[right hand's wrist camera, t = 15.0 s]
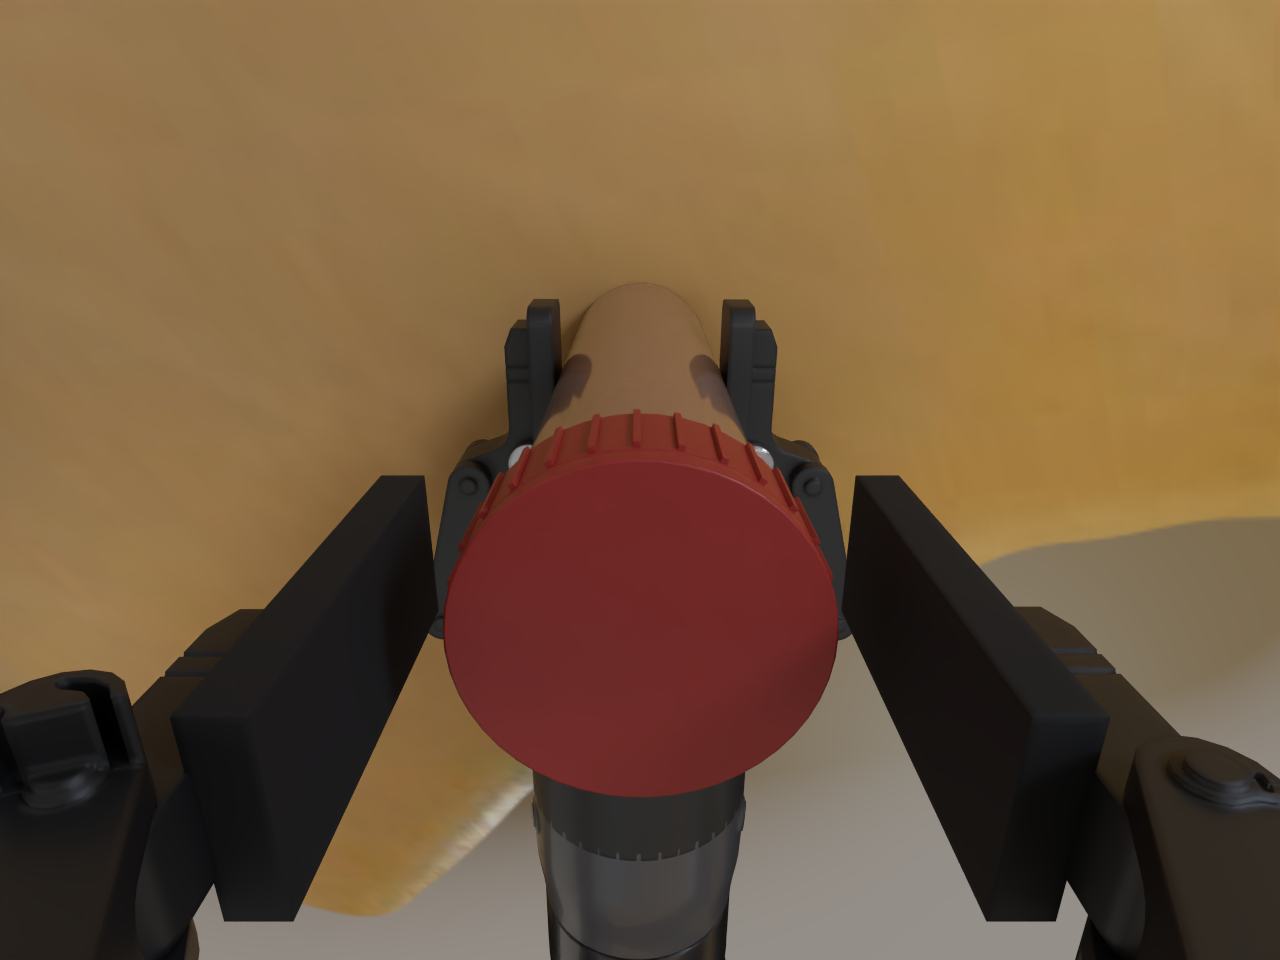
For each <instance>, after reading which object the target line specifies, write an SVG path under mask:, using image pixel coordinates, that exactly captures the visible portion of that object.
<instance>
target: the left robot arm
mask: <svg viewBox="0 0 1280 960" xmlns="http://www.w3.org/2000/svg"><path fill="white" fill-rule="evenodd" d="M504 348H505V364H506V380H507V397H508V414H509V432H508V433H506V434H505V435H502V436H500V437H497V438H494V439H491V440H477V441H474V442H473V443H471V444H470V445H469V447H468V448H467V449H466V451H465V453H464V454H463V456H462V457H461V459H460V461H459V462H458V464H457V465H456V467H455V469H454V470H453V472H452V473H451V475H450V477H449V480H448V484H447V490H446V496H445V501H444V507H443V512H442V518H441V524H440V529H439V535H438V540H437V546H436V551H435V557H434V570H435V580H436V589H437V598H438V607H439V611H438V613H437V615H436V618H435V620H434V622H433V624H432V626H431V628H430V630H429V634H430V635H432V636H433V637H435V638H438V639H444V638H443V617H444V605H445V601H446V596H447V592H448V587H447V581H448V578H449V576H450V574H451V572H452V570H453V568H454V566H455V564H456V561H457V559H458V557H459V555H460V553H461V551H459V550H458V547H459V545H460V543H461V541H462V539H463V537H464V535H465V533H466V531H467V529H468V526H469V524H470V522H471V520H472V518H473V516H474V514H475V512H476V510H477V508H478V506H479V504H480V502H481V503H484V502H485V499H486V497H487V495H488V493H489V491H490V489H491V487H492V485H493V483H494V481H495V478H496V476H497V475H498V474H499V473H500V472H501V473H503V474H504V475H505V473H506V472H507V471H508V470H509V469H510V468H511V467H512V466H513V465H514V464H515V463H516V462H517V461H518V460H519V457H520V455H521V453H522V450H523V449H524V448H525V447H527V446H528V447H529V448H530V449H531V447H532V444H533V442H534V439H535V437H536V434H537V432H538V429H539V427H540V424H541V422H542V419H543V417H544V414H545V412H546V409H547V407H548V404H549V402H550V399H551V397H552V394H553V392H554V389H555V387H556V384H557V382H558V379H559V377H560V374H561V372H562V359H561V329H560V306H559V300H558V299H534V300H533V301H532V302H531V303H530V305H529V306H528V308H527V320H517V322H516V323H515V324H514V325H513V326H512V328H511V329H510V332H509V335H508V338H507V341H506V344H505V346H504ZM776 359H777V345H776V342H775V339H774V336H773V333H772V330H771V328H770V327H769V326H768V325H767V324H766V322H765V321H764V320H756V315H755V308H754V306H753V305H752V304H751V302H750V301H749V300H730V299H724V301H723V307H722V325H721V347H720V369H719V371H720V373H721V376H722V378H723V381H724V383H725V386H726V388H727V391H728V393H729V396H730V398H731V401H732V403H733V406H734V408H735V411H736V413H737V416H738V418H739V421H740V423H741V426H742V428H743V431H744V433H745V436H746V438H747V441H748V442H749V443H751V444H752V445H753V446H754V449H755V451H756V454H757V455H758V456H759V457H761V458H762V459H763V460H764V461H765V462H766V463H767V464H768V465H769V466H770V468H771V469H772V470H773V469H774V468H776V467H777V468H778V469H779V470H780V471H781V473H782V475H783V477H784V479H785V481H786V484H787V486H788V488H789V490H790V492H791V494H792V496H793V498H795V497H799V499H800V501H801V503H802V505H803V507H804V509H805V511H806V513H807V515H808V517H809V520H810V522H811V524H812V526H813V528H814V530H815V532H816V534H817V536H818V538H819V540H820V542H821V544H819V547H820V549H821V551H822V553H823V555H824V557H825V559H826V561H827V564H828V566H829V568H830V570H831V572H832V574H833V578H834V579H833V580H831V583H832V586H833V589H834V593H835V598H836V604H837V610H838V633H839V636H838V640H842V639H845V638H847V637H848V636H850V635H851V634H852V633H851V630H850V628H849V626H848V624H847V622H846V620H845V618H844V615H843V613H842V611H841V607H842V598H843V589H844V580H845V570H846V561H847V560H846V554H845V548H844V542H843V536H842V530H841V524H840V518H839V512H838V506H837V500H836V494H835V487H834V482H833V478H832V476H831V475H830V473H829V472H828V470H827V469H826V468H825V467H824V466H823V465H822V463H821V462H820V460H819V457H818V454H817V453H816V451H815V449H814V448H813V447H812V445H810V444H809V443H807V442H805V441H801V440H797V441H792V442H791V441H789V440H786V439H783V438H780V437H778V436H776V435H774V434H773V433H772V432H771V427H772V414H773V400H774V386H775V384H774V382H775V373H776ZM744 780H745V772H744V773H742V774H740V775H738V776H736V777H733V778H731V779H729V780H726V781H724V782H722V783H719V784H716V785H713V786H710V787H707V788H703V789H700V790H697V791H692V792H687V793H682V794H677V795H670V796H658V797H622V796H613V795H604V794H599V793H594V792H590V791H586V790H581V789H578V788H575V787H572V786H569V785H566V784H563V783H560V782H557V781H555V780H553V779H550V778H548V777H546V776H544V775H542V774H540V773H537V772H536V771H534V770H533V784H534V795H533V802H532V817H533V824H534V827H535V828H536V834H537V843H538V851H539V857H540V862H541V866H542V870H543V873H544V877H545V882H546V893H547V912H548V930H549V946H550V956H551V960H725V950H726V935H727V921H728V906H729V891H730V885H731V880H732V876H733V873H734V869H735V865H736V861H737V857H738V851H739V843H740V835H741V831H742V830H743V826H744V819H745V810H746V801H745V798H744V796H743V795H744Z"/></svg>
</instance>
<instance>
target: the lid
mask: <svg viewBox="0 0 1280 960" xmlns="http://www.w3.org/2000/svg"><path fill="white" fill-rule="evenodd" d="M819 544H821V542H820V540H819V538H818V536H817V534H816V532H815V530H814V528H813V526H812V524H811V522H810V520H809V517H808V515H807V513H806V511H805V509H804V507H803V505H802V503H801V501H800V499H799V497H795V498H793V496H792V494H791V492H790V490H789V488H788V486H787V484H786V481H785V479H784V477H783V475H782V473H781V471H780V470H779V469H778V468H777V467H776V468H774V469H773V470H772V469H771V468H770V466H769V465H768V464H767V463H766V462H765V461H764V460H763V459H762V458H761V457H759V456H758V455H757V454H756V451H755V449H754V446H753V445H752V444H751V443H749V442H747V444H746V445H744V444H742V443H741V442H739V441H737V440H736V439H734V438H732V437H731V436H729V435H727V434H725V433H724V432H721V429H720V426H719V425H717V424H714V423H713V425H712V427H709V426H707V425H705V424H702V423H699V422H695V421H691V420H688V419H684V418H682V416H681V413H677V412H674V415H673V416H668V415H661V414H641V410H640V409H633V413H631V414H622V415H613V416H606V417H602V418H601V416H600V414H595V415H593V418H592V420H589V421H585V422H583V423H580V424H577V425H575V426H572V427H569V428H567V429H564V430H563V428H562V426H560V427H558V428H556V429H555V432H554V435H553V436H551V437H549V438H547V439H545V440H543V441H542V442H541V443H539V444H538V445H536V446H535V447H534V448H532V449H530V448H529V447H528V446H527V447H525V448H524V449H523V450H522V453H521V455H520V457H519V460H518V461H517V462H516V463H515V464H514V465H513V466H512V467H511V468H510V469H509V470H508V471H507V472H506V473H505V475H504V474H503V473H501V472H500V473H499V474H498V475H497V476H496V478H495V481H494V483H493V485H492V487H491V489H490V491H489V493H488V495H487V497H486V499H485V502H484V503H481V502H480V504H479V506H478V508H477V510H476V512H475V514H474V516H473V518H472V520H471V522H470V524H469V526H468V529H467V531H466V533H465V535H464V537H463V539H462V541H461V543H460V545H459V547H458V550H459V551H461V553H460V555H459V557H458V559H457V561H456V564H455V566H454V568H453V570H452V572H451V574H450V576H449V578H448V581H447V587H448V592H447V596H446V601H445V605H444V617H443V638H444V649H445V654H446V659H447V663H448V667H449V671H450V674H451V677H452V679H453V682H454V684H455V687H456V689H457V691H458V694H459V696H460V697H461V699H462V701H463V703H464V704H465V706H466V708H467V709H468V711H469V713H470V714H471V715H472V717H473V718H474V719H475V721H476V722H477V723H478V725H479V726H480V727H481V728H482V730H483V731H484V732H485V733H486V734H487V735H488V736H489V737H490V738H491V739H492V740H493V741H494V742H495V743H496V744H497V745H498V746H499V747H501V748H502V749H503V750H504V751H506V752H507V753H508V754H510V755H511V756H512V757H513V758H515V759H516V760H517V761H519V762H521V763H522V764H524V765H526V766H527V767H529V768H531V769H532V770H534V771H536V772H537V773H540V774H542V775H544V776H546V777H548V778H550V779H553V780H555V781H557V782H560V783H563V784H566V785H569V786H572V787H575V788H578V789H581V790H586V791H590V792H594V793H599V794H604V795H613V796H622V797H658V796H670V795H677V794H682V793H687V792H692V791H697V790H700V789H703V788H707V787H710V786H713V785H716V784H719V783H722V782H724V781H726V780H729V779H731V778H733V777H736V776H738V775H740V774H742V773H744V772H745V771H747V770H749V769H751V768H752V767H754V766H756V765H758V764H759V763H761V762H762V761H764V760H765V759H766V758H768V757H769V756H771V755H772V754H773V753H775V752H776V751H777V750H779V749H780V748H781V747H782V746H783V745H784V744H785V743H786V742H787V741H788V740H789V739H790V738H792V737H793V736H794V735H795V733H796V732H797V731H798V730H799V729H800V727H801V726H802V725H803V724H804V723H805V721H806V720H807V719H808V718H809V716H810V715H811V713H812V711H813V710H814V708H815V707H816V705H817V704H818V702H819V700H820V699H821V696H822V694H823V692H824V690H825V687H826V685H827V683H828V681H829V678H830V675H831V672H832V668H833V665H834V661H835V658H836V651H837V643H838V636H839V633H838V610H837V604H836V598H835V593H834V589H833V586H832V583H831V580H833V579H834V578H833V574H832V572H831V570H830V568H829V566H828V564H827V561H826V559H825V557H824V555H823V553H822V551H821V549H820V547H819Z"/></svg>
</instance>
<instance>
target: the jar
mask: <svg viewBox="0 0 1280 960" xmlns="http://www.w3.org/2000/svg"><path fill="white" fill-rule="evenodd" d="M633 409H640V410H641V414H661V415H668V416H673V415H674V412H677V413H681V416H682V418H684V419H688V420H691V421H695V422H699V423H702V424H705V425H707V426H709V427H712V425H713V423H714V424H717V425H719V426H720V429H721V432H724V433H725V434H727V435H729V436H731V437H732V438H734V439H736V440H737V441H739V442H741V443H742V444H744V445H746V444H747V442H748V441H747V438H746V436H745V433H744V431H743V428H742V426H741V423H740V421H739V418H738V416H737V413H736V411H735V408H734V406H733V403H732V401H731V398H730V396H729V393H728V391H727V388H726V386H725V383H724V381H723V378H722V376H721V373H720V371H719V368H718V366H717V363H716V361H715V359H714V356H713V354H712V351H711V349H710V346H709V344H708V341H707V339H706V336H705V334H704V331H703V329H702V326H701V324H700V321H699V319H698V317H697V315H696V314H695V312H694V311H693V309H692V308H691V307H690V306H689V304H688V303H687V302H686V301H685V300H684V299H682V298H681V297H680V296H679V295H677V294H676V293H674V292H672V291H671V290H669V289H666V288H664V287H661V286H658V285H654V284H648V283H634V284H627V285H623V286H620V287H617V288H615V289H612V290H610V291H609V292H607V293H605V294H604V295H602V296H601V297H600V298H598V299H597V300H596V301H595V302H594V303H593V304H592V305H591V307H590V308H589V309H588V311H587V312H586V314H585V316H584V317H583V319H582V321H581V324H580V326H579V329H578V331H577V334H576V336H575V339H574V341H573V344H572V346H571V349H570V351H569V354H568V357H567V359H566V362H565V364H564V367H563V369H562V372H561V374H560V377H559V379H558V382H557V384H556V387H555V389H554V392H553V394H552V397H551V399H550V402H549V404H548V407H547V409H546V412H545V414H544V417H543V419H542V422H541V424H540V427H539V429H538V432H537V434H536V437H535V439H534V442H533V444H532V447H531V449H532V448H534V447H535V446H536V445H538V444H539V443H541V442H542V441H543V440H545V439H547V438H549V437H551V436H553V435H554V432H555V429H556V428H558V427H560V426H562V428H563V430H564V429H567V428H569V427H572V426H575V425H577V424H580V423H583V422H585V421H589V420H592V418H593V415H595V414H600V416H601V418H602V417H606V416H613V415H622V414H631V413H633Z"/></svg>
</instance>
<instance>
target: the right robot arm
mask: <svg viewBox="0 0 1280 960" xmlns="http://www.w3.org/2000/svg"><path fill="white" fill-rule="evenodd" d="M438 611H439V607H438V598H437V589H436V580H435V570H434V561H433V552H432V543H431V533H430V524H429V515H428V506H427V496H426V487H425V478H424V476H380V478H379V479H378V480H377V481H376V482H375V483H374V484H373V486H372V487H371V488H370V489H369V490H368V491H367V492H366V494H365V495H364V496H363V497H362V498H361V499H360V500H359V502H358V503H357V504H356V505H355V506H354V507H353V508H352V510H351V511H350V512H349V513H348V514H347V515H346V516H345V517H344V519H343V520H342V521H341V522H340V523H339V524H338V525H337V527H336V528H335V529H334V530H333V531H332V532H331V533H330V535H329V536H328V537H327V538H326V539H325V540H324V541H323V543H322V544H321V545H320V546H319V547H318V548H317V549H316V551H315V552H314V553H313V554H312V555H311V556H310V557H309V559H308V560H307V561H306V562H305V563H304V564H303V565H302V567H301V568H300V569H299V570H298V571H297V572H296V573H295V575H294V576H293V577H292V578H291V579H290V580H289V581H288V583H287V584H286V585H285V586H284V587H283V588H282V589H281V591H280V592H279V593H278V594H277V595H276V596H275V597H274V599H273V600H272V601H271V602H270V603H269V604H268V605H267V606H266V608H265V609H240V610H238V611H236V612H235V613H233V614H231V615H230V616H228V617H226V618H224V619H223V620H221V621H219V622H218V623H216V624H214V625H213V626H211V627H209V628H207V629H206V630H205V631H204V632H203V633H202V634H201V635H200V636H199V637H198V638H197V639H196V640H195V641H194V642H193V643H192V645H191V646H190V647H189V648H188V649H187V650H186V651H185V652H184V657H179V658H178V659H177V660H176V661H175V662H174V663H173V664H172V665H171V666H170V667H169V668H168V669H167V670H166V671H165V677H160V678H159V679H158V680H157V681H156V682H155V683H154V684H153V685H152V686H151V687H150V688H149V689H148V690H147V691H146V692H145V693H144V694H143V695H142V696H141V697H140V698H139V699H138V700H137V701H136V702H135V703H134V705H133V706H131V702H130V699H129V695H128V692H127V688H126V685H125V682H124V681H123V680H122V679H121V678H119V677H118V676H116V675H115V674H113V673H112V672H105V671H97V670H81V671H71V672H62V673H58V674H54V675H51V676H47V677H43V678H40V679H36V680H32V681H29V682H27V683H24V684H22V685H20V686H17V687H15V688H13V689H11V690H8V691H6V692H4V693H1V694H0V960H198V958H199V943H198V936H197V931H196V928H195V924H194V921H193V917H194V915H195V913H196V912H197V910H198V908H199V907H200V905H201V903H202V902H203V900H204V898H205V897H206V895H207V893H208V892H209V890H210V888H211V887H212V885H213V884H214V885H215V888H216V893H217V896H218V900H219V904H220V907H221V911H222V915H223V919H224V921H294V919H295V917H296V915H297V913H298V911H299V908H300V906H301V904H302V902H303V900H304V898H305V896H306V893H307V891H308V889H309V887H310V885H311V883H312V881H313V878H314V876H315V874H316V872H317V870H318V868H319V866H320V863H321V861H322V859H323V857H324V855H325V853H326V851H327V849H328V846H329V844H330V842H331V840H332V838H333V836H334V834H335V831H336V829H337V827H338V825H339V823H340V821H341V819H342V816H343V814H344V812H345V810H346V808H347V806H348V804H349V801H350V799H351V797H352V795H353V793H354V791H355V789H356V787H357V784H358V782H359V780H360V778H361V776H362V774H363V772H364V769H365V767H366V765H367V763H368V761H369V759H370V757H371V754H372V752H373V750H374V748H375V746H376V744H377V742H378V739H379V737H380V735H381V733H382V731H383V729H384V727H385V724H386V722H387V720H388V718H389V716H390V714H391V712H392V710H393V707H394V705H395V703H396V701H397V699H398V697H399V695H400V692H401V690H402V688H403V686H404V684H405V682H406V680H407V677H408V675H409V673H410V671H411V669H412V667H413V665H414V662H415V660H416V658H417V656H418V654H419V652H420V650H421V648H422V645H423V643H424V641H425V639H426V637H427V635H428V633H429V630H430V628H431V626H432V624H433V622H434V620H435V618H436V615H437V613H438ZM841 611H842V613H843V615H844V618H845V620H846V622H847V624H848V626H849V628H850V630H851V633H852V635H853V637H854V639H855V641H856V643H857V645H858V648H859V650H860V652H861V654H862V656H863V658H864V660H865V662H866V665H867V667H868V669H869V671H870V673H871V675H872V677H873V680H874V682H875V684H876V686H877V688H878V690H879V692H880V695H881V697H882V699H883V701H884V703H885V705H886V707H887V710H888V711H889V714H890V716H891V718H892V720H893V722H894V724H895V726H896V729H897V731H898V733H899V735H900V737H901V739H902V742H903V744H904V746H905V748H906V750H907V752H908V754H909V757H910V759H911V761H912V763H913V765H914V767H915V769H916V772H917V774H918V776H919V778H920V780H921V782H922V784H923V787H924V789H925V791H926V793H927V795H928V797H929V799H930V801H931V804H932V806H933V808H934V810H935V812H936V814H937V816H938V819H939V821H940V823H941V825H942V827H943V829H944V831H945V834H946V836H947V838H948V840H949V842H950V844H951V846H952V849H953V851H954V853H955V855H956V857H957V859H958V861H959V863H960V866H961V868H962V870H963V872H964V874H965V876H966V878H967V881H968V883H969V885H970V887H971V889H972V891H973V893H974V896H975V898H976V900H977V902H978V904H979V906H980V908H981V910H982V913H983V915H984V917H985V919H986V921H1056V919H1057V915H1058V911H1059V907H1060V904H1061V900H1062V896H1063V893H1064V889H1065V885H1066V881H1068V883H1069V884H1070V886H1071V888H1072V889H1073V891H1074V893H1075V894H1076V896H1077V897H1078V899H1079V901H1080V902H1081V904H1082V906H1083V907H1084V909H1085V911H1086V912H1087V914H1088V917H1087V921H1086V924H1085V928H1084V931H1083V935H1082V938H1081V942H1080V945H1079V948H1078V952H1077V955H1076V959H1075V960H1280V779H1279V778H1278V777H1276V776H1275V775H1274V774H1272V773H1271V772H1269V771H1268V770H1267V769H1265V768H1264V767H1263V766H1261V765H1260V764H1259V763H1257V762H1256V761H1254V760H1252V759H1250V758H1248V757H1246V756H1244V755H1242V754H1240V753H1238V752H1236V751H1234V750H1231V749H1229V748H1227V747H1225V746H1221V745H1218V744H1215V743H1212V742H1208V741H1205V740H1202V739H1199V738H1193V737H1185V736H1180V735H1179V734H1178V733H1177V732H1176V730H1175V729H1174V728H1173V727H1172V726H1171V725H1170V724H1169V723H1168V722H1167V721H1166V720H1165V719H1164V718H1163V717H1162V716H1161V715H1160V714H1159V713H1158V712H1157V711H1156V710H1155V709H1154V708H1153V707H1152V706H1151V705H1150V704H1149V703H1148V702H1147V701H1146V700H1145V699H1144V698H1143V697H1142V696H1141V695H1140V694H1139V692H1138V691H1136V689H1135V688H1134V687H1133V686H1132V685H1131V684H1130V683H1129V682H1128V681H1127V680H1126V679H1125V678H1124V677H1123V676H1122V675H1121V674H1116V671H1115V668H1114V667H1113V666H1112V665H1111V664H1110V663H1109V662H1108V661H1107V660H1106V659H1105V658H1104V657H1103V656H1102V655H1101V654H1097V649H1096V648H1095V647H1094V646H1093V645H1092V644H1091V643H1090V642H1089V641H1088V640H1087V639H1086V638H1085V637H1084V636H1083V635H1082V634H1081V633H1080V632H1079V631H1078V630H1077V629H1076V628H1075V627H1074V626H1073V625H1071V624H1069V623H1067V622H1066V621H1064V620H1062V619H1061V618H1059V617H1057V616H1055V615H1054V614H1052V613H1050V612H1049V611H1047V610H1045V609H1043V608H1042V607H1014V606H1013V605H1012V604H1011V603H1010V602H1009V601H1008V600H1007V599H1006V597H1005V596H1004V595H1003V594H1002V593H1001V592H1000V591H999V589H998V588H997V587H996V586H995V585H994V584H993V583H992V581H991V580H990V579H989V578H988V577H987V576H986V575H985V573H984V572H983V571H982V570H981V569H980V568H979V567H978V565H977V564H976V563H975V562H974V561H973V560H972V559H971V557H970V556H969V555H968V554H967V553H966V552H965V551H964V549H963V548H962V547H961V546H960V545H959V544H958V543H957V541H956V540H955V539H954V538H953V537H952V536H951V535H950V533H949V532H948V531H947V530H946V529H945V528H944V527H943V525H942V524H941V523H940V522H939V521H938V520H937V519H936V517H935V516H934V515H933V514H932V513H931V512H930V511H929V510H928V508H927V507H926V506H925V505H924V504H923V503H922V502H921V500H920V499H919V498H918V497H917V496H916V495H915V494H914V492H913V491H912V490H911V489H910V488H909V487H908V486H907V484H906V483H905V482H904V481H903V480H902V479H901V478H900V476H856V478H855V487H854V496H853V506H852V515H851V524H850V533H849V543H848V552H847V561H846V570H845V580H844V589H843V598H842V607H841Z"/></svg>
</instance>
